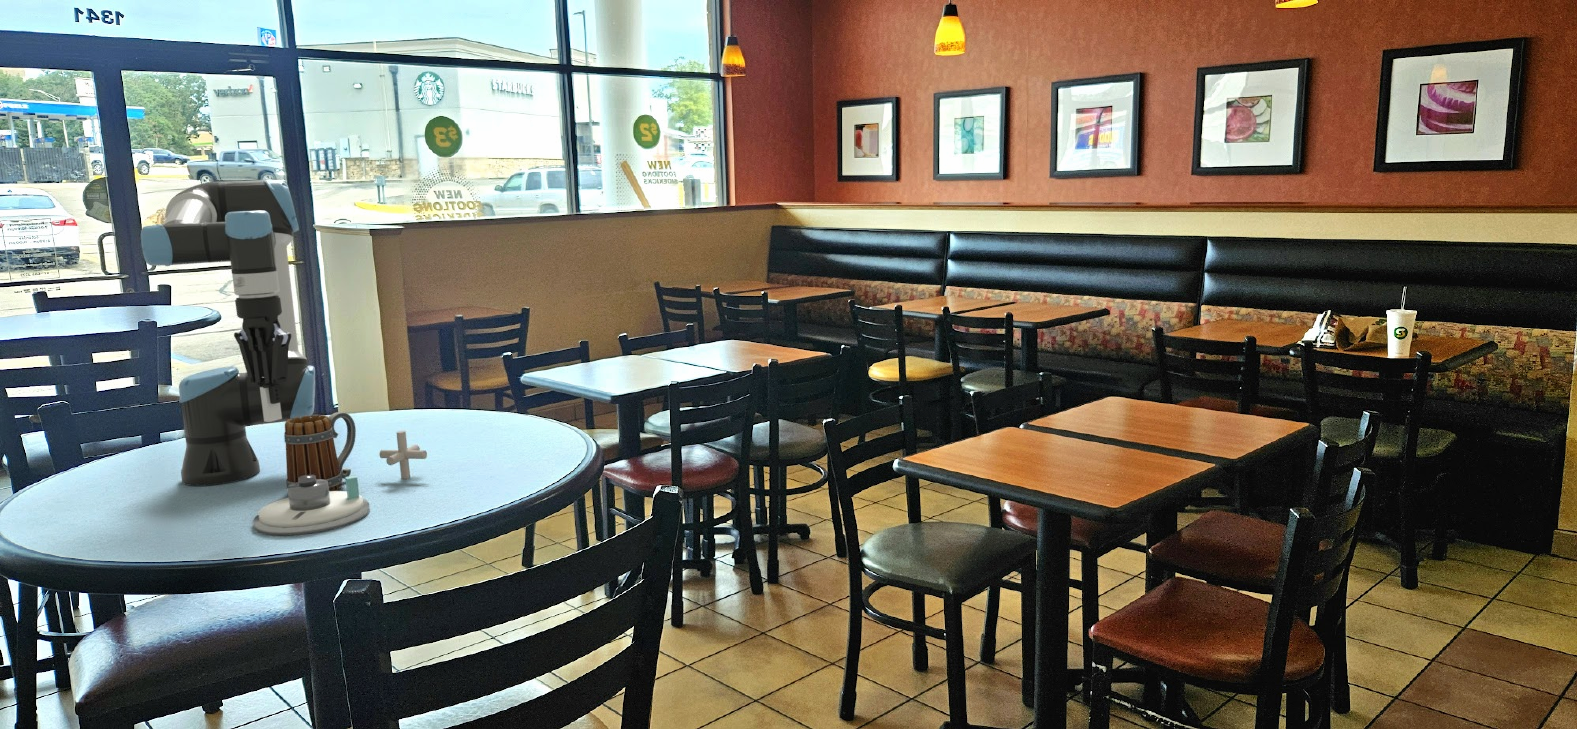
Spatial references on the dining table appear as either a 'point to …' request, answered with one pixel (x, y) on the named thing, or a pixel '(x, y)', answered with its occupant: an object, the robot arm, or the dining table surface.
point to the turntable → (337, 509)
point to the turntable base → (312, 528)
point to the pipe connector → (403, 454)
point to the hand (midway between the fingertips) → (273, 420)
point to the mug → (317, 448)
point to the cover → (308, 493)
